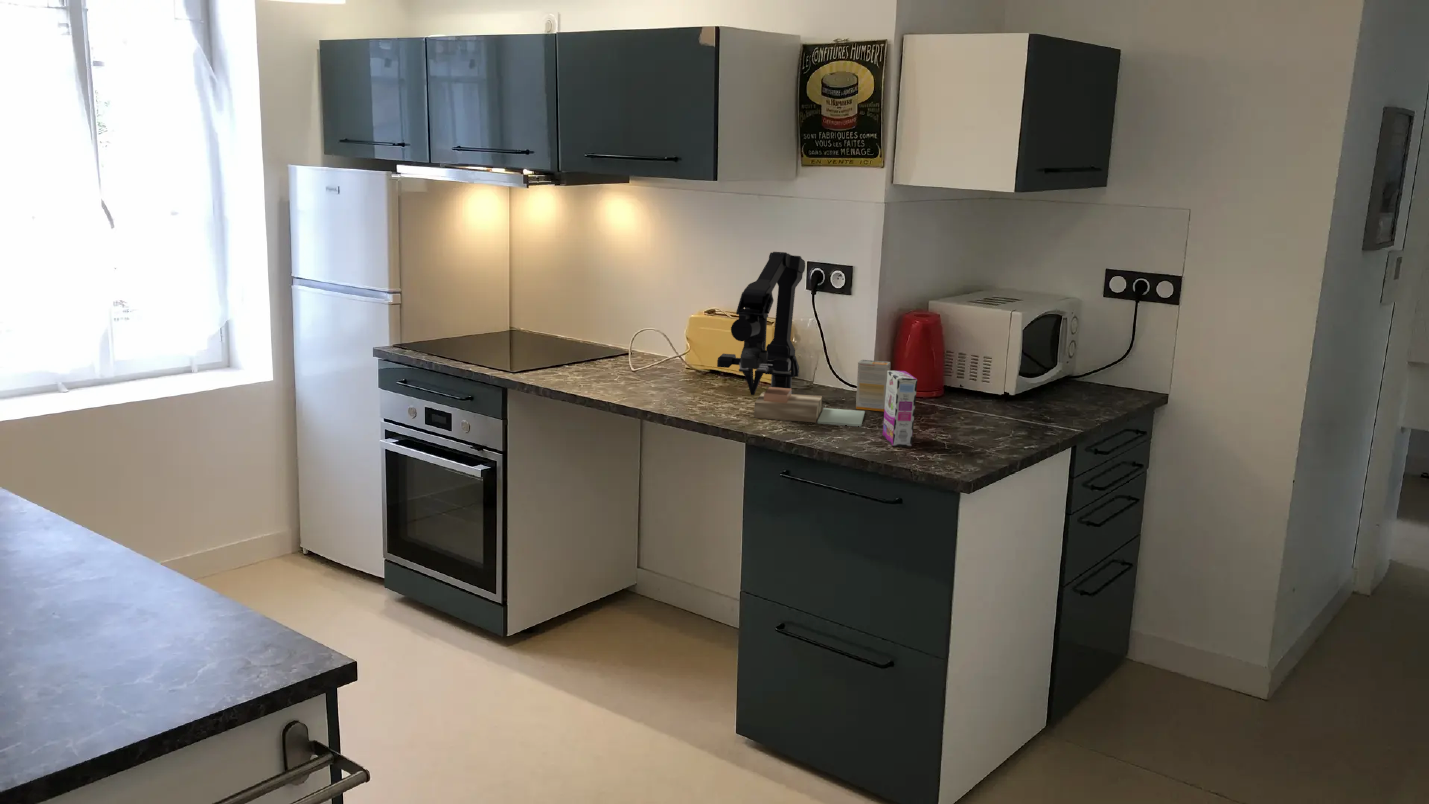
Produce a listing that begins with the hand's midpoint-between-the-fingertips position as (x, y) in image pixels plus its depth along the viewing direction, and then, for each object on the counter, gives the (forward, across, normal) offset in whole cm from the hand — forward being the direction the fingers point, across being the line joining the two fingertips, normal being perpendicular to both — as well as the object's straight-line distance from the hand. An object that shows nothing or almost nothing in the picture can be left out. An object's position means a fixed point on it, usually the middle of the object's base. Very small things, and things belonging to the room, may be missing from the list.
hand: (752, 394), depth 293 cm
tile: (0, +7, 0) cm, 7 cm away
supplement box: (+5, +31, +14) cm, 34 cm away
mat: (+4, +24, 0) cm, 24 cm away
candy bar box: (+5, +39, -20) cm, 44 cm away
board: (+4, +10, 0) cm, 11 cm away
